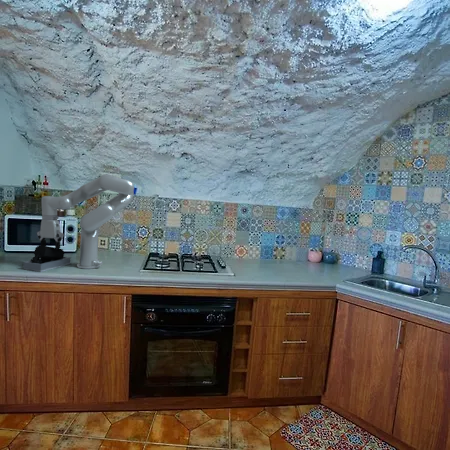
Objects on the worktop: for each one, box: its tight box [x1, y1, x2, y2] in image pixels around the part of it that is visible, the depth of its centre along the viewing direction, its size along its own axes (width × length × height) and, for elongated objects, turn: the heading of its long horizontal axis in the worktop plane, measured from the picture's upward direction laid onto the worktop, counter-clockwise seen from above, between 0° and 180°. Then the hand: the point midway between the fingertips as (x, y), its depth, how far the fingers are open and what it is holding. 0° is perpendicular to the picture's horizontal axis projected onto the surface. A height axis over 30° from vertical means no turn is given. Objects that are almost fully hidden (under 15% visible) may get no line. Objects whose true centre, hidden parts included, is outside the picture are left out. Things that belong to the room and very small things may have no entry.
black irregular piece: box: [30, 244, 65, 264], centre depth 180 cm, size 7×18×10 cm, turn 165°
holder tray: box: [23, 256, 71, 273], centre depth 181 cm, size 11×22×4 cm, turn 166°
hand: (50, 247), depth 181 cm, fingers open, 9 cm apart
